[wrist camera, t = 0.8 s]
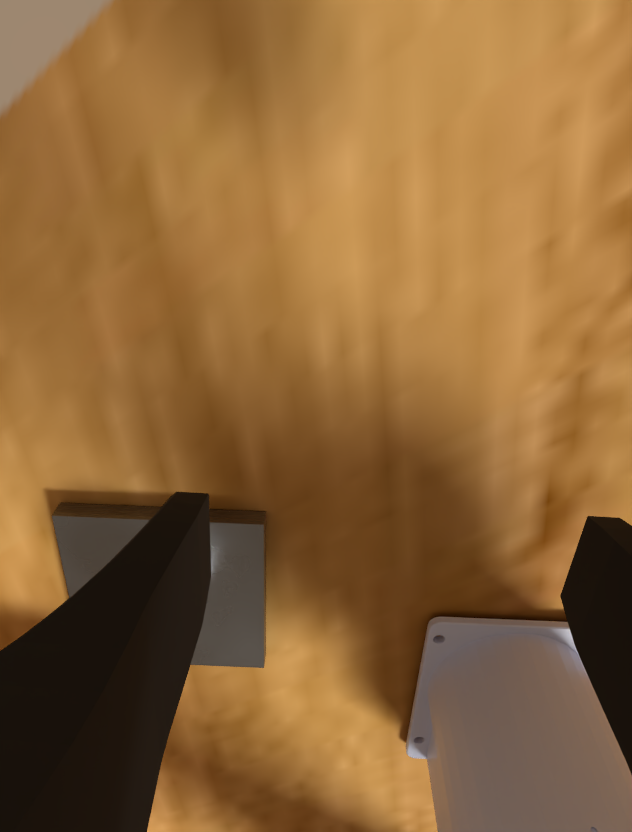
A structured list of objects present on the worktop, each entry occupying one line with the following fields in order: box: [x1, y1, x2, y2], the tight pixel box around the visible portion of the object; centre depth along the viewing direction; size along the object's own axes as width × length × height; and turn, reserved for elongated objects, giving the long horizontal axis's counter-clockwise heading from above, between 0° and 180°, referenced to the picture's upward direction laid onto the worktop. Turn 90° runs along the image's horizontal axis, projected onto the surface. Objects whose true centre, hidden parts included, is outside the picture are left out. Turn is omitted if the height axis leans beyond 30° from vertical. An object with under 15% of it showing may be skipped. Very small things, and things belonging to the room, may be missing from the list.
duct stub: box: [52, 503, 266, 668], centre depth 23 cm, size 8×8×4 cm
